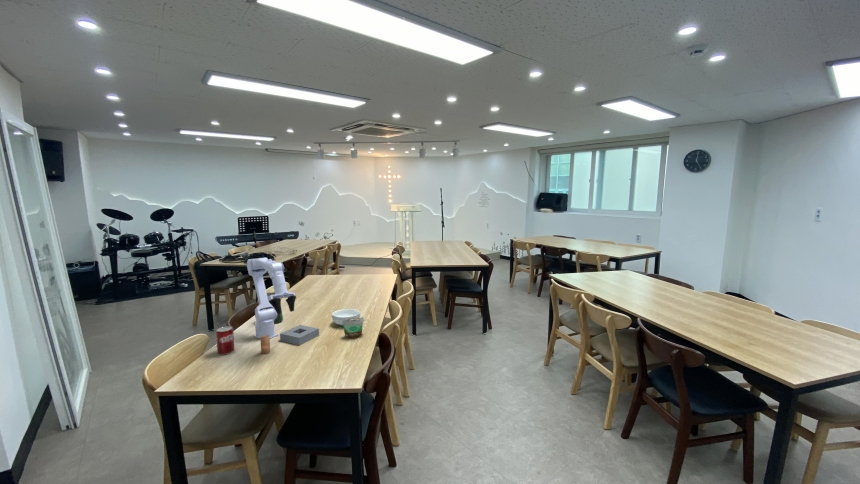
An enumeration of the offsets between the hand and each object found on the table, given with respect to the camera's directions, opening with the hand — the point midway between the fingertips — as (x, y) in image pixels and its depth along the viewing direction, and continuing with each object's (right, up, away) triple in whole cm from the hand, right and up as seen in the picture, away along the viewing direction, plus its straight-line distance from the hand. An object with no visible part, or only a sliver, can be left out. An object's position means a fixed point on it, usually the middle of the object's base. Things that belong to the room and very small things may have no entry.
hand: (286, 312), depth 160 cm
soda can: (-30, -20, +2) cm, 37 cm away
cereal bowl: (+19, -16, +40) cm, 48 cm away
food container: (+29, -18, +21) cm, 40 cm away
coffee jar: (-27, -16, +44) cm, 53 cm away
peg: (-11, -20, +2) cm, 23 cm away
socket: (-1, -18, +19) cm, 26 cm away
